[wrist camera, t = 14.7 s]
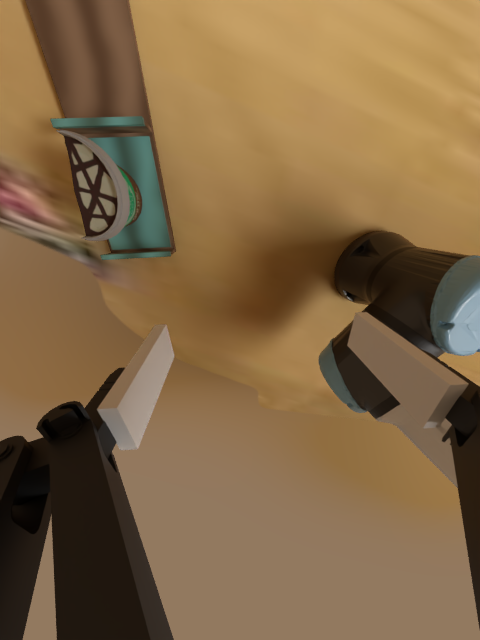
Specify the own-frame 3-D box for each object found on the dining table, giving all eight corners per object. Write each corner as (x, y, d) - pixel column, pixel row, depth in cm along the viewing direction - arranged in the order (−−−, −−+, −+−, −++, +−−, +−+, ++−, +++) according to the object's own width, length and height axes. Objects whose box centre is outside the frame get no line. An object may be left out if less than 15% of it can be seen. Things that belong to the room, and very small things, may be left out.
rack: (114, -77, 22) (89, -142, 18) (176, 251, 39) (170, 256, 35) (4, -78, 22) (-47, -144, 18) (115, 255, 39) (102, 259, 35)
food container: (152, 240, 37) (129, 248, 28) (117, 235, 36) (82, 242, 27) (146, 157, 31) (114, 134, 22) (104, 149, 30) (54, 123, 22)
